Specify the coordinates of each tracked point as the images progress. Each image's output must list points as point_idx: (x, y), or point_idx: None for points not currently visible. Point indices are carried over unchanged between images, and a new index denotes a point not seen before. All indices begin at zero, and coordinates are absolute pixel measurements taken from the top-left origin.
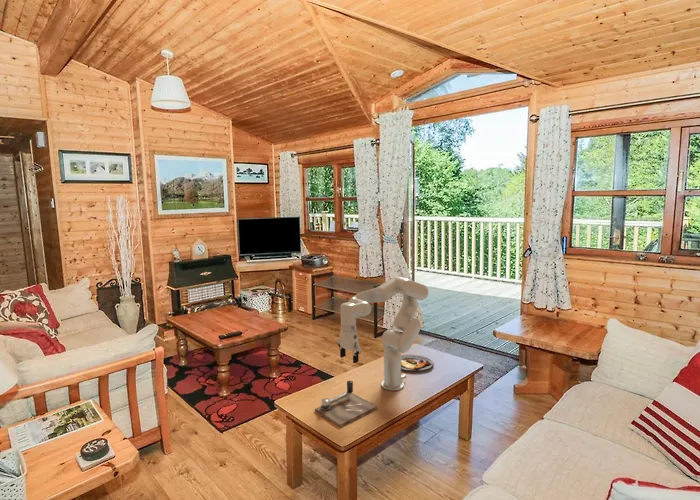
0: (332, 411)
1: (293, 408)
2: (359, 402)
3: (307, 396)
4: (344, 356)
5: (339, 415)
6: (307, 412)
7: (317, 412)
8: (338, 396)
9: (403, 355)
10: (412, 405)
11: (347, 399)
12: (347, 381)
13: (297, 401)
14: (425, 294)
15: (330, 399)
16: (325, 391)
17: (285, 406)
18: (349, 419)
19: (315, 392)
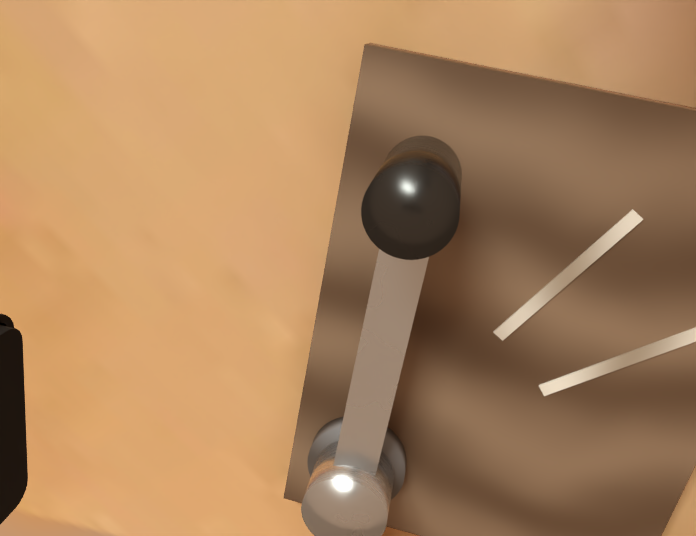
0: (443, 468)
1: (125, 513)
2: (593, 192)
3: (48, 320)
4: (20, 375)
5: (543, 491)
6: (251, 511)
7: None
8: (379, 349)
9: None
10: None
11: None
12: (366, 220)
13: (60, 424)
14: None
15: (350, 438)
16: (89, 146)
17: (60, 517)
18: (669, 503)
19: (37, 221)
